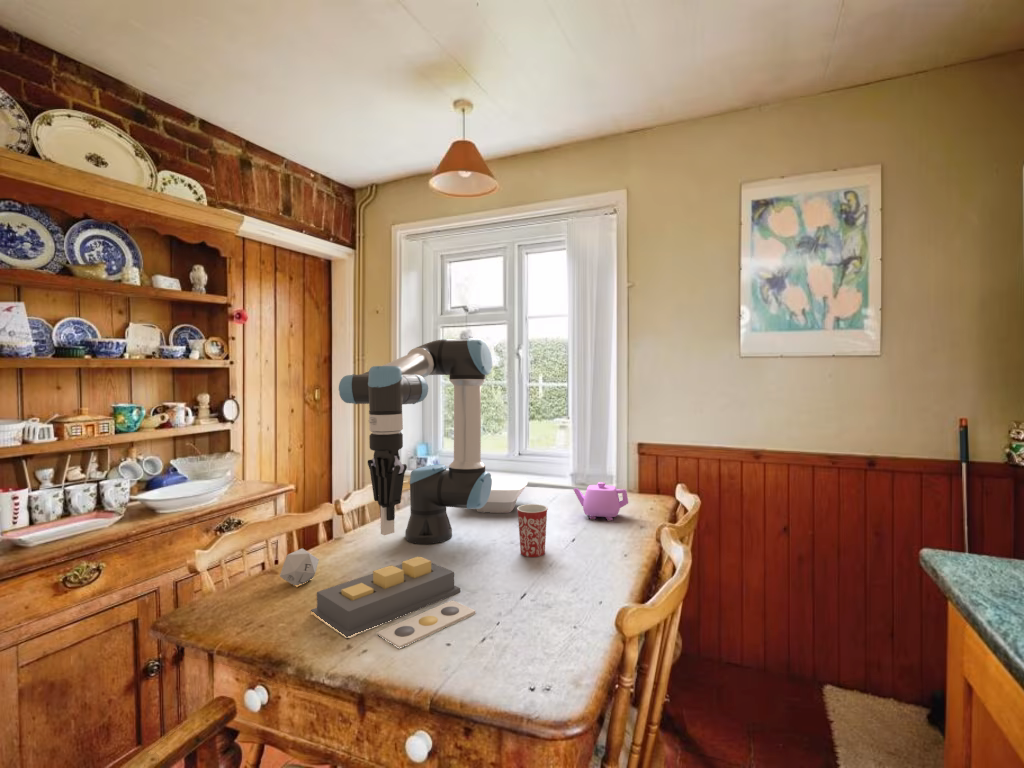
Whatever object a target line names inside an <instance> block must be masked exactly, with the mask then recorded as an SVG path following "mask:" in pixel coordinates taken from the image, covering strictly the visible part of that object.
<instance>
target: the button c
mask: <svg viewBox="0 0 1024 768" xmlns="http://www.w3.org/2000/svg"><path fill="white" fill-rule="evenodd" d="M431 563H432V560H429V559H427V558H425V557H421V556H415V557H412V558H410V559H406V560H403V561H401V564H402V570H404V574H405V575H407V576H410V577H412V578H417V577H419V576H422V575H425V574H428V573H431Z"/></svg>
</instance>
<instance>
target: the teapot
mask: <svg viewBox="0 0 1024 768" xmlns="http://www.w3.org/2000/svg"><path fill="white" fill-rule="evenodd" d="M627 491H628V490H627V489H625V488H623V489H622V488H617V487H616V486H615V485H608V484H606V482H602V481H599V482H597V484H589V485H588V486H587V488H586V491H585V494H583V493H582V492H581V490H579V488H577V487H575V488H573V492H574V494H575V496H576V497H577V499H578V502H579V503H580V505H581V507H582V508H583V509H582V510H583V514H585V515H586V516H588V517H589V518H590V519H589V518H588V519H589V520H591V519H594V520H596V519H597V517H598V518H599V517H602V518H604V517H605V520H606V519H607V520H606V521H608V520H612V521H613V520H614V519H613V518H614V517H617V516H618V515H619V512H620V510H621V508H623V507H625V506H626V505H629V498H628V497H629V496H628V493H627ZM619 494H621V495H622V500H620V497H619Z"/></svg>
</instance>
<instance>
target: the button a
mask: <svg viewBox="0 0 1024 768" xmlns="http://www.w3.org/2000/svg"><path fill="white" fill-rule="evenodd" d="M372 593H374V589H373V588H371V587H369V586H367V585H365V584H363V583H360V584H357V585H354V586H351V587H348V588H345V589H342V590H341V595H343V596H345V597H346V598H348V599H350V600H351V601H353V600H356V599H358V598H361V597H364V596H367V595H370V594H372Z"/></svg>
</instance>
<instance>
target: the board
mask: <svg viewBox="0 0 1024 768" xmlns="http://www.w3.org/2000/svg"><path fill="white" fill-rule="evenodd" d="M395 567H397V568H399V569H401V570H402V563H401V564H397V565H395ZM360 583H363V584H365V585H367V586H369V587H371V588H373V589H374V593H372V594H370V595H367V596H364V597H361V598H358V599H356V600H353V601H351V600H350V599H348V598H346V597H345V596H343V595H341V590H342V589H345V588H348V587H351V586H354V585H357V584H360ZM459 593H461V587H459V586H457V585H455V571H454V570H450V569H448V568H446V567H442V566H440V565H438V564H435V563H433V562H431V573H428V574H425V575H422V576H419V577H417V578H412V577H410V576H407V575H405V574H404V582H403V583H400V584H397V585H395V586H392V587H389V588H386V589H383V588H381V587H379V586H378V585H376V584H374V583H373V573H370V574H367V575H364V576H361V577H357V578H354V579H351V580H349V581H345V582H343V583H340V584H337V585H333V586H331V587H328V588H324V589H321V590H318V591H316V607H315V608H313V609H310V612H311V611H312V612H314V613H315V614H316V615H317V616H319V617H320V618H321V619H323V620H324V621H325V622H327V623H328V624H330V625H331V626H332V627H334V628H335V629H337V630H338V631H339V632H341V633H342V634H344V635H345V636H346V637H348V636H351V635H353V634H355V633H358V632H361V631H364V630H366V629H369V628H372V627H374V626H377V625H380V624H382V623H385V622H387V623H389V622H388V621H390V620H392V621H394V620H393V619H395V618H397V617H399V618H401V617H400V616H402V617H404V616H406V615H405V614H407V615H409V614H411V613H414V612H416V611H419V610H420V609H423V608H425V607H428V606H430V605H433V604H435V603H438V602H440V601H442V600H444V599H446V598H449V597H452V596H455V595H457V594H459ZM418 609H419V610H418ZM415 610H416V611H415ZM413 611H414V612H413ZM410 612H411V613H410ZM408 613H409V614H408ZM403 615H404V616H403ZM397 619H398V618H397ZM395 620H396V619H395ZM390 622H391V621H390ZM385 624H386V623H385ZM380 626H381V625H380Z"/></svg>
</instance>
